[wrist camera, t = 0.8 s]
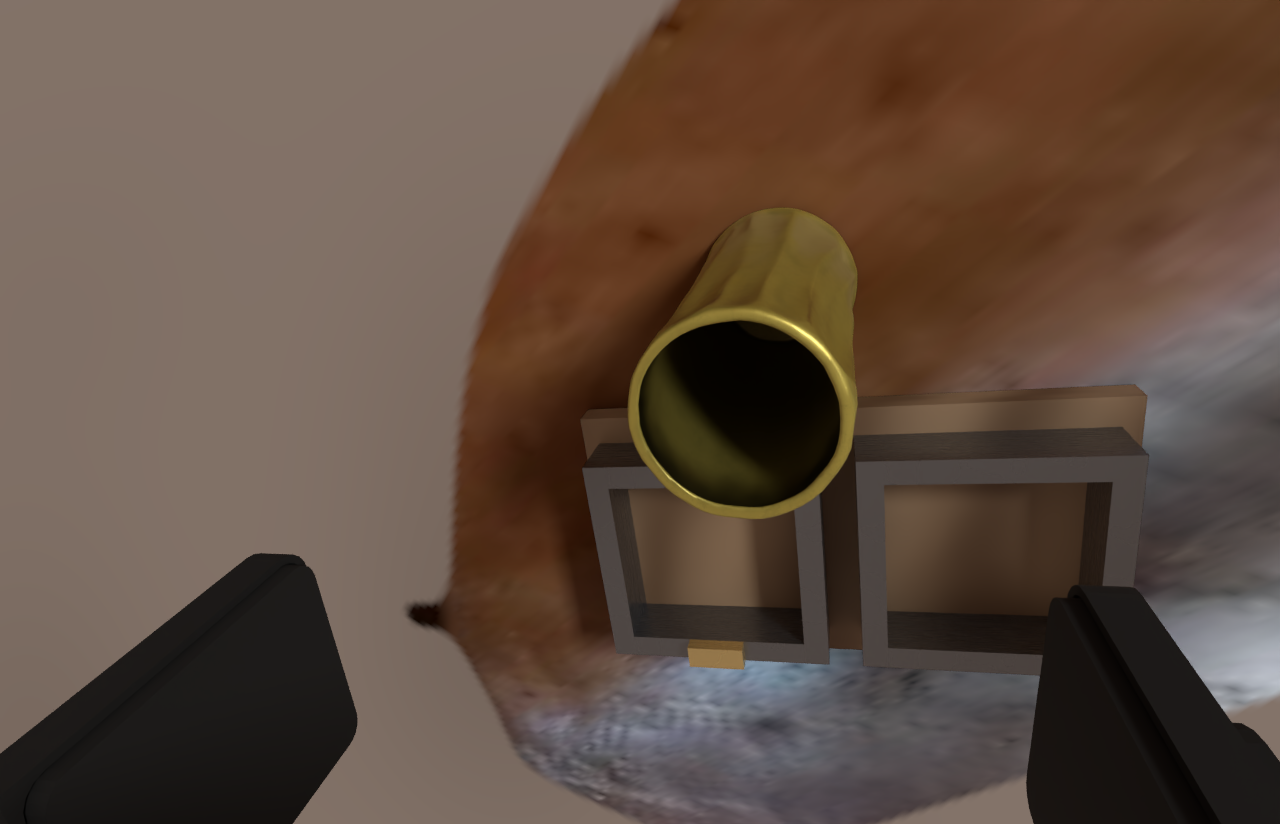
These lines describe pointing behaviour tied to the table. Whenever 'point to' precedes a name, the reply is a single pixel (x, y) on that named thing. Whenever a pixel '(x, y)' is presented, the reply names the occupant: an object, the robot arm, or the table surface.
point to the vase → (754, 371)
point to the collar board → (891, 519)
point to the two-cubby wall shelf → (878, 554)
